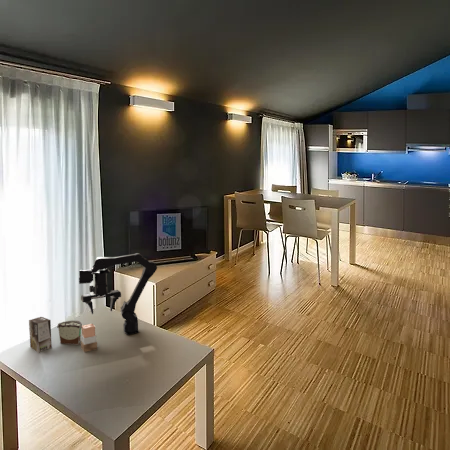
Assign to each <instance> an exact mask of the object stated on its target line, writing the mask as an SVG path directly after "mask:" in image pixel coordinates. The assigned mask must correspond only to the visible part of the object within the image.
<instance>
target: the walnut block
mask: <svg viewBox="0 0 450 450" xmlns="http://www.w3.org/2000/svg"><path fill="white" fill-rule="evenodd" d="M80 348H81V350H82V353H87V352H91V351H96V350H98V341H97V342H94V343H90V344H85V345H84V343H83V342H82V341H81V340H80Z"/></svg>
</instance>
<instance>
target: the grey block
mask: <svg viewBox="0 0 450 450" xmlns="http://www.w3.org/2000/svg"><path fill="white" fill-rule="evenodd" d="M97 340H98V339H97V334H95V336H92V337H87V338H84V337H83V336H82V334H81V337H80V342H81V341H82V342H83V343H84V345H85V344H90V343H94V342H97V343H98V341H97Z"/></svg>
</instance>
